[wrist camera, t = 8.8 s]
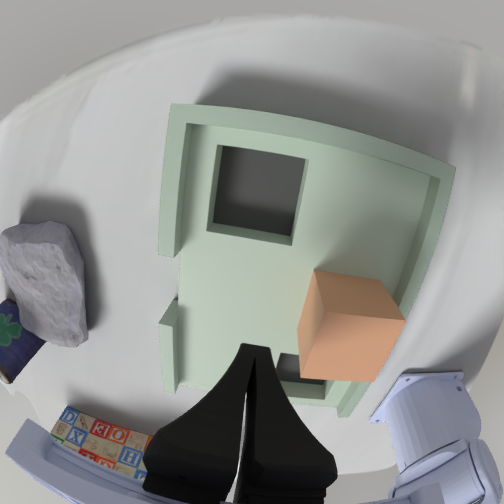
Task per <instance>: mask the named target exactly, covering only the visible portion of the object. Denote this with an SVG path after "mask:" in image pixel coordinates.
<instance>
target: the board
mask: <svg viewBox="0 0 504 504" xmlns="http://www.w3.org/2000/svg"><path fill="white" fill-rule="evenodd" d="M455 171H456V167H454V166H451V165H449V164H447V163H445V162H442V161H440V160H438V159H435V158H433V157H430V156H428V155H425V154H423V153H420V152H417V151H415V150H412V149H409V148H407V147H404V146H401V145H398V144H395V143H392V142H389V141H386V140H383V139H380V138H377V137H373V136H370V135H367V134H363V133H360V132H356V131H353V130H349V129H345V128H341V127H337V126H333V125H329V124H325V123H321V122H316V121H312V120H307V119H302V118H297V117H292V116H287V115H281V114H275V113H269V112H262V111H255V110H248V109H240V108H231V107H221V106H209V105H195V104H172V103H171V107H170V114H169V121H168V128H167V135H166V143H165V152H164V161H163V171H162V182H161V195H160V211H159V231H158V255H160V256H165V257H170V258H174V257H175V256H176V255H177V254H178V252H179V251H180V264H179V288H178V300H175V299H173V301H172V302H171V304H170V306H169V307H168V309H167V310H166V312H165V314H164V315H163V317H162V319H161V320H160V322H159V342H160V357H161V369H162V380H163V390H164V391H165V392H168V393H172V394H175V393H176V390H177V387H178V385H183V386H187V387H192V388H196V389H200V390H205V391H210V390H211V389H212V388H213V387H214V386H215V385H216V384H217V382H218V381H219V380H220V379H221V377H222V376H223V375H224V374H225V372H226V371H227V369H228V368H229V366H230V365H231V363H232V362H233V360H234V358H235V356H236V354H237V352H238V350H239V347H240V344H242V343H248V344H254V345H259V346H266V347H269V348H270V349H271V353H272V358H273V362H274V365H275V368H276V371H277V374H278V377H279V379H280V382H281V384H282V387H283V389H284V391H285V393H286V395H287V397H288V399H289V401H290V403H291V404H296V405H308V406H325V407H337V413H338V417H349V416H350V415H351V413H352V412H353V410H354V409H355V407H356V406H357V404H358V403H359V401H360V400H361V398H362V397H363V395H364V394H365V392H366V391H367V389H368V387H369V386H370V384H371V383H372V382H359V381H337V380H321V379H309V378H301V377H300V362H299V348H298V335H297V327H298V324H299V321H300V317H301V314H302V310H303V307H304V303H305V300H306V296H307V292H308V289H309V285H310V281H311V277H312V274H313V270H320V271H326V272H333V273H339V274H345V275H351V276H358V277H364V278H370V279H376V280H380V281H381V282H382V284H383V285H384V287H385V288H386V290H387V291H388V293H389V294H390V296H391V297H392V299H393V300H394V302H395V303H396V305H397V306H398V308H399V310H400V311H401V313H402V314H403V316H404V318H405V319H406V318H407V316H408V314H409V312H410V309H411V307H412V305H413V303H414V300H415V298H416V296H417V294H418V291H419V289H420V286H421V284H422V281H423V279H424V276H425V274H426V271H427V268H428V266H429V263H430V260H431V258H432V255H433V252H434V249H435V246H436V243H437V240H438V237H439V234H440V230H441V227H442V224H443V220H444V217H445V213H446V209H447V206H448V202H449V198H450V194H451V189H452V185H453V180H454V176H455ZM246 393H247V392H246ZM245 398H246V396H245Z"/></svg>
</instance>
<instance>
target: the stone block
mask: <svg viewBox="0 0 504 504" xmlns="http://www.w3.org/2000/svg"><path fill="white" fill-rule="evenodd" d="M84 267H85V264H84V259H83V257H82V256H81V253H80V251H79V248H78V245H77V243H76V241H75V238H74V235H73V233H72V231H71V229H70V228H69V227H68V226H67V225H65V224H60V223H57V222H55V221H51V220H49V221H46V222H41V223H39V224H31V223H23V224H18V225H16V226H13V227H10V228H8V229H5V230H4V231H3V232H2V233H1V235H0V268H1V270H2V272H3V276H4V278H5V282H6V283H7V284H8V286H9V287H10V288H11V290H12V292H13V293H14V295H15V298H16V303H17V305H18V308H19V314H20V322H21V324H22V326H23V327H24V328H25V329H26V330H28V331H30V332H32V333H34V334H35V335H36V336H38V337H39V338H41V339H44V340H45V341H47V342H50V343H52V344H55V345H58V346H64V347H73V348H75V347H77V346H78V345H79V344H82V343H84V342H85V341H87V340H88V330H87V324H86V309H85V308H86V306H85V296H86V291H85V276H84Z"/></svg>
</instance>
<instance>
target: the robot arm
mask: <svg viewBox="0 0 504 504" xmlns="http://www.w3.org/2000/svg"><path fill="white" fill-rule="evenodd" d="M464 375H465V374H464V372H463V371H461V372H446V373H420V374H402V375H401V376H400V377H399V378H398V380H397V381H396V383H395V384H394V386H393V387H392V389H391V390H390V392H389V393H388V395H387V396H386V397H385V399H384V400H383V402H382V403H381V404H380V406H379V407H378V408H377V410H376V411H375V412H374V414H373V415H372V416H371V418H370V419H369V421H370V423H387V426H388V430H389V434H390V437H391V441H392V445H393V449H394V453H395V457H396V461H397V465H398V470H399V474H400V475H399V476H397V477H395V478H394V483H395V486H393V487H392V488H391V489H390V491H389V493H388V496H387V498H386V499H385V500H379V501H373V502H367V503H361V504H472V503H474V502H476V501H477V500H479V499H480V500H479V501H478V502H476V503H474V504H500V502H501V498H502V494H503V489H502V485H501V482H500V477H499V472H498V469H497V466H496V463H495V461H494V458H493V456H492V454H491V452H490V450H489V448H488V446H487V445H486V443H485V442H484V441H483V440H480V439H478V438H479V435H480V431H481V419H480V415H479V413H478V411H477V409H476V407H475V405H474V403H473V401H472V400H471V397H470V395H469V393H468V392H467V390H466V388H465V386H464V384H463V383H462V381H461V380H462V378H463V377H464ZM246 392H247V393H246ZM245 396H246V416H245V434H244V442H243V448H242V455H241V461H240V467H239V472H238V478H237V484H236V489H235V494H234V500H233V503H231V502H225V500H226V498H227V495H228V493H229V492H230V489H231V487H232V484H233V482H234V479H235V477H236V474H237V468H238V462H239V451H240V440H241V430H242V421H243V412H244V403H245ZM5 454H6V455H7V456H8V457H9V458H10V459H11V460H12V461H13V462H14V463H16V464H17V465H18V466H19V467H20V468H21V469H22V470H24V471H25V472H26V473H27V474H28V475H29V476H31V477H32V478H33V479H35V480H36V481H38V482H39V483H41V484H42V485H44V486H45V487H47V488H48V489H50V490H51V491H53V492H54V493H56V494H58V495H59V496H61V497H62V498H64V499H66V500H68V501H69V502H71V503H73V504H324V497H326V488H327V487H328V486H330V485H331V484H332V483H333V482H334V481H335V480H336V479H337V476H338V474H337V467H336V463H335V459H334V456H333V455H332V454H331V453H330V452H329V451H328V450H327V449H326V448H325V447H324V446H323V445H322V444H321V443H320V442H319V441H318V440H317V439H316V438H315V437H314V436H313V434H312V433H311V432H310V431H309V429H308V428H307V427H306V426H305V424H304V423H303V422H302V420H301V419H300V417H299V416H298V414H297V413H296V411H295V410H294V408H293V406H292V405H291V403H290V401H289V399H288V397H287V395H286V393H285V391H284V389H283V387H282V384H281V382H280V379H279V377H278V374H277V371H276V368H275V365H274V362H273V358H272V353H271V349H270V348H269V347H266V346H259V345H254V344H248V343H242V344H240V347H239V350H238V352H237V354H236V356H235V358H234V360H233V362H232V363H231V365H230V366H229V368H228V369H227V371H226V372H225V374H224V375H223V376H222V377H221V379H220V380H219V381H218V382H217V384H216V385H215V386H214V387H213V388H212V389H211V390H210V392H209V393H208V394H207V395H206V396H205V397H204V398H202V399H201V400H200V401H199V402H198V403H197V404H196V405H195V406H193V407H192V408H191V409H190V410H188V411H187V412H186V413H184V414H183V415H182V416H180V417H179V418H177V419H176V420H174V421H173V422H171V423H169V424H168V425H166V426H164V427H163V428H161V429H159V430H158V431H157V433H156V434H155V435H154V436H153V438H152V439H151V440H150V442H149V444H148V445H147V447H146V450H145V452H144V455H143V457H142V461H143V463H144V465H145V468H146V470H147V474H146V477H145V480H144V481H141V480H138V479H135V478H132V477H130V476H127V475H125V474H122V473H120V472H117V471H115V470H112V469H110V468H108V467H105V466H103V465H101V464H99V463H97V462H94V461H92V460H90V459H88V458H86V457H84V456H82V455H80V454H78V453H77V452H75V451H73V450H71V449H69V448H67V447H66V446H64V445H62V444H60V443H59V442H57V441H55V440H54V438H53V437H52V435H51V434H50V433H49V432H48V431H47V430H45V429H44V428H42V427H41V426H39V425H38V424H36V423H35V422H33V421H32V420H30V419H27V420H26V421H25V423H24V424H23V426H22V427H21V428H20V430H19V431H18V433H17V434H16V436H15V438H14V439H13V441H12V442H11V444H10V445H9V447H8V448H7V450H6V452H5ZM482 497H483V498H482ZM481 498H482V499H481Z"/></svg>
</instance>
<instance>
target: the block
mask: <svg viewBox="0 0 504 504" xmlns="http://www.w3.org/2000/svg"><path fill="white" fill-rule="evenodd" d="M405 322H406V319H405V318H404V316H403V314H402V313H401V311H400V310H399V308H398V306H397V305H396V303H395V302H394V300H393V299H392V297H391V296H390V294H389V293H388V291H387V290H386V288H385V287H384V285H383V284H382V282H381V281H380V280H376V279H370V278H364V277H358V276H351V275H345V274H339V273H333V272H326V271H320V270H313V274H312V277H311V281H310V285H309V289H308V292H307V296H306V300H305V303H304V307H303V310H302V314H301V317H300V321H299V324H298V327H297V335H298V348H299V362H300V377H301V378H309V379H321V380H337V381H359V382H374V380H375V379H376V377H377V375H378V373H379V372H380V370H381V368H382V367H383V365H384V363H385V361H386V359H387V358H388V356H389V354H390V352H391V350H392V348H393V346H394V344H395V343H396V341H397V339H398V337H399V335H400V333H401V331H402V329H403V326H404V324H405Z"/></svg>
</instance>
